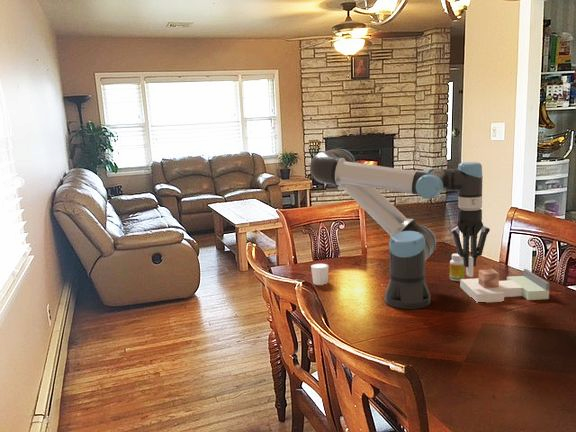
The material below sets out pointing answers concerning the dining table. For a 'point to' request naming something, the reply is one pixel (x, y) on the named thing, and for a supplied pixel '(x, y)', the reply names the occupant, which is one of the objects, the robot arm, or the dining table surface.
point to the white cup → (320, 273)
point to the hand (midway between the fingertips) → (469, 275)
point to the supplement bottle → (457, 268)
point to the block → (488, 278)
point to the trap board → (508, 288)
